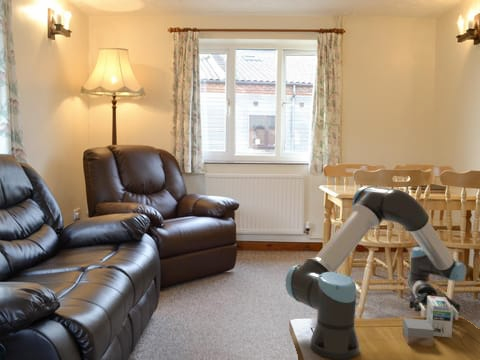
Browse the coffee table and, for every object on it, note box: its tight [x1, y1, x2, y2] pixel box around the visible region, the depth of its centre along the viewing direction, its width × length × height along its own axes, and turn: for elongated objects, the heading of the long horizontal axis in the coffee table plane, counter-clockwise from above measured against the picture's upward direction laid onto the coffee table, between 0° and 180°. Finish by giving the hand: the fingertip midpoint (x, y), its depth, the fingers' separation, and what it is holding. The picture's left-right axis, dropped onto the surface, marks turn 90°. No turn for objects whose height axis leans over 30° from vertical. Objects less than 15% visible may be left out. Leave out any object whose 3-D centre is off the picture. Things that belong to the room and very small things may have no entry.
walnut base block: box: [401, 327, 435, 347], centre depth 152 cm, size 8×8×3 cm
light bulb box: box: [425, 296, 454, 338], centre depth 159 cm, size 11×7×11 cm, turn 168°
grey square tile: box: [402, 317, 434, 339], centre depth 152 cm, size 8×8×3 cm
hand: (440, 314), depth 157 cm, fingers open, 10 cm apart
